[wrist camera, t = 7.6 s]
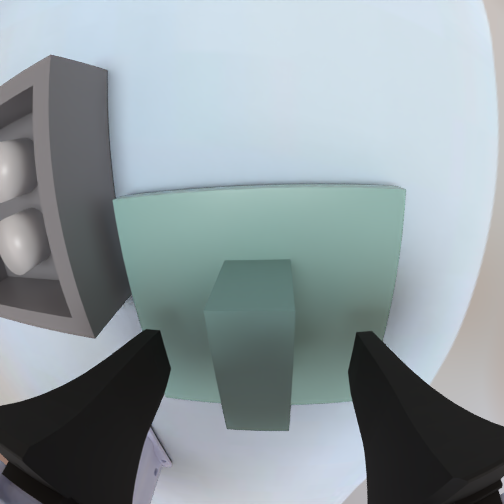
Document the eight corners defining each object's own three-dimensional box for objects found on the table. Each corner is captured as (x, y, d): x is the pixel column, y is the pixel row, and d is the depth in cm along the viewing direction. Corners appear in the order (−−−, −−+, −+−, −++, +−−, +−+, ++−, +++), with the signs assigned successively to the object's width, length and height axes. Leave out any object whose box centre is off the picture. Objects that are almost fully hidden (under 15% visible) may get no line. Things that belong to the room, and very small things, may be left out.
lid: (360, 382, 15) (376, 449, 10) (172, 381, 16) (148, 443, 11) (392, 183, 11) (456, 213, 6) (128, 193, 12) (58, 225, 7)
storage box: (133, 291, 14) (95, 338, 10) (12, 282, 15) (-23, 309, 11) (107, 70, 10) (51, 54, 6) (-15, 129, 11) (-59, 137, 7)
